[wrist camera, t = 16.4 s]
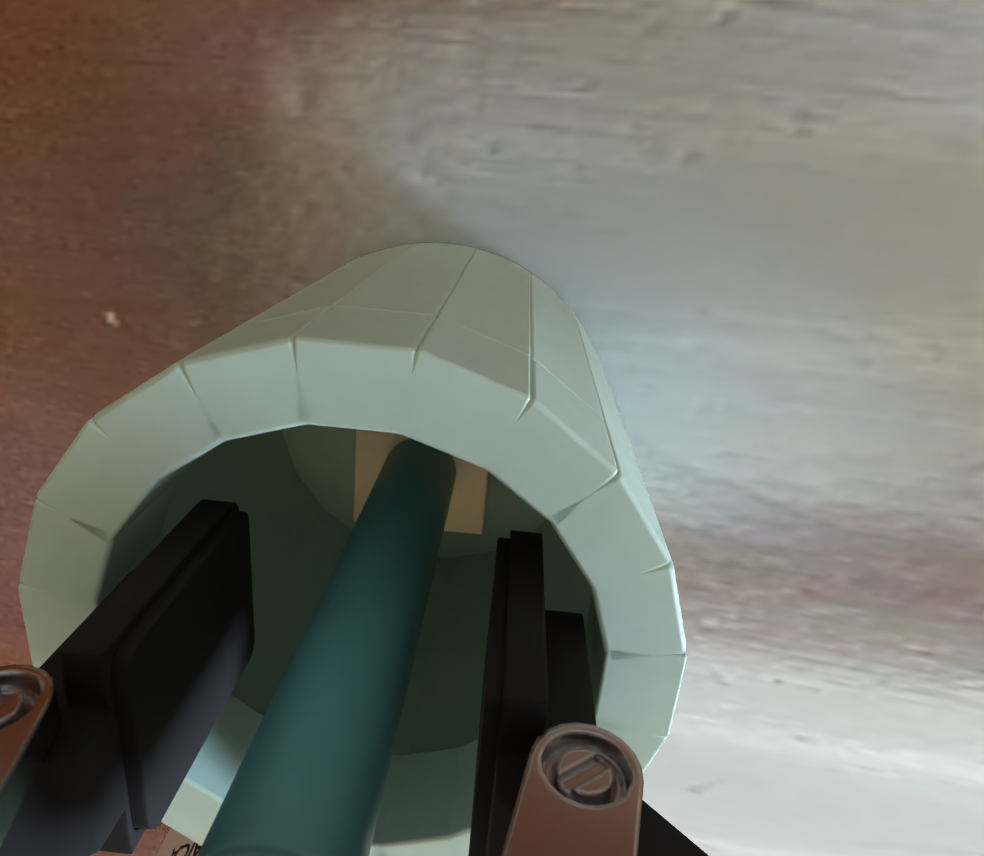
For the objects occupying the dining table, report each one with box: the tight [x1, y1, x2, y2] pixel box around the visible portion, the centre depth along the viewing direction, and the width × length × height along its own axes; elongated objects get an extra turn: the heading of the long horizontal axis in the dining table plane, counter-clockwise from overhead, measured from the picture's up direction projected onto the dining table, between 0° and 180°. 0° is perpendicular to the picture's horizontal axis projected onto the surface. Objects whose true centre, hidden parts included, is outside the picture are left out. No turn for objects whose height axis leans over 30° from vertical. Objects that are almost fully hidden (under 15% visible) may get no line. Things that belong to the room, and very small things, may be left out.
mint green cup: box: [18, 243, 687, 856], centre depth 16 cm, size 10×10×11 cm
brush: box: [197, 429, 490, 856], centre depth 14 cm, size 3×3×14 cm
